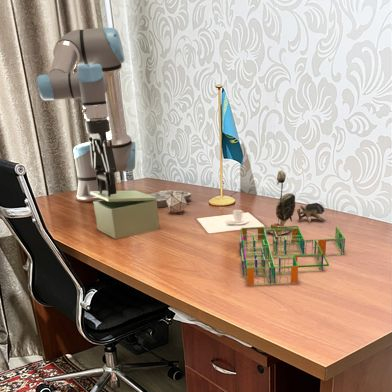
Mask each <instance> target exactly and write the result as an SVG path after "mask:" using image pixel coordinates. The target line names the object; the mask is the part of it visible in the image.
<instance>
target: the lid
mask: <svg viewBox="0 0 392 392" xmlns="http://www.w3.org/2000/svg"><path fill="white" fill-rule="evenodd" d="M97 178H98V179H99V184H100V191H90V194H92V195H94V196H96V197H99V198H101V199H103V200H106V201H108V202H116V201H148V200H156V197H153V196H150V195H148V194H149V193H145V192H142V191H139V190H116V193H117V194H112V195H108V191H102V180H103V181H105V182H106V175H105V173H104V174H103V173H98V174H97Z"/></svg>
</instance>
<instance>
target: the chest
mask: <svg viewBox="0 0 392 392" xmlns="http://www.w3.org/2000/svg"><path fill="white" fill-rule="evenodd" d="M92 204H93V208H94V215H95V222H96V229H97V230H98V231H100V232H102V233H104V234H105V235H107V236H109V237H111V238H112V239H115V240H119V239H123V238H126V237H131V236H135V235H140V234H143V233H148V232H152V231H157V230H160V220H159V212H158V211H159V210H158V207H157V200H148V201H116V202H108V201H106V200H99V201H93V202H92Z"/></svg>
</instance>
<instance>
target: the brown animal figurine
mask: <svg viewBox="0 0 392 392" xmlns="http://www.w3.org/2000/svg"><path fill="white" fill-rule="evenodd" d="M296 213H297V215H298V216H297V217H298V221H301V220H302V219H303V218H306V219H307V220H308V224H310V223H311V221H312V218H315V219H318V220H319V221H320V222H325V221H326V220H325V219H324V218H322V217H321V216H320V215H323V213H325V207H324V206H323V205H322V204H321V203H318V202H313V203H307V205H305V207H304V206H303V205H302V204H300V205H299V208H297V210H296Z"/></svg>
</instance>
